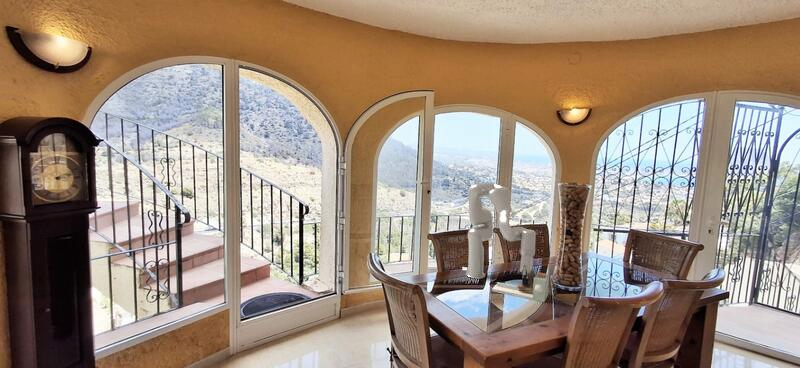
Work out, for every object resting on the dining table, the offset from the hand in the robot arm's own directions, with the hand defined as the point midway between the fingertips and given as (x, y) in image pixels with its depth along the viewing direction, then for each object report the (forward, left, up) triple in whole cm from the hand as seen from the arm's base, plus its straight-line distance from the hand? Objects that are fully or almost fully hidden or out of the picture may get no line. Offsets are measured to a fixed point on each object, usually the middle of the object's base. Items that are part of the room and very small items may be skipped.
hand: (526, 283), depth 214 cm
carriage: (0, 0, -5) cm, 5 cm away
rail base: (-6, 0, -6) cm, 9 cm away
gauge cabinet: (+8, 0, -6) cm, 10 cm away
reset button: (+8, 0, +4) cm, 9 cm away
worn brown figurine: (-1, +19, -7) cm, 20 cm away
